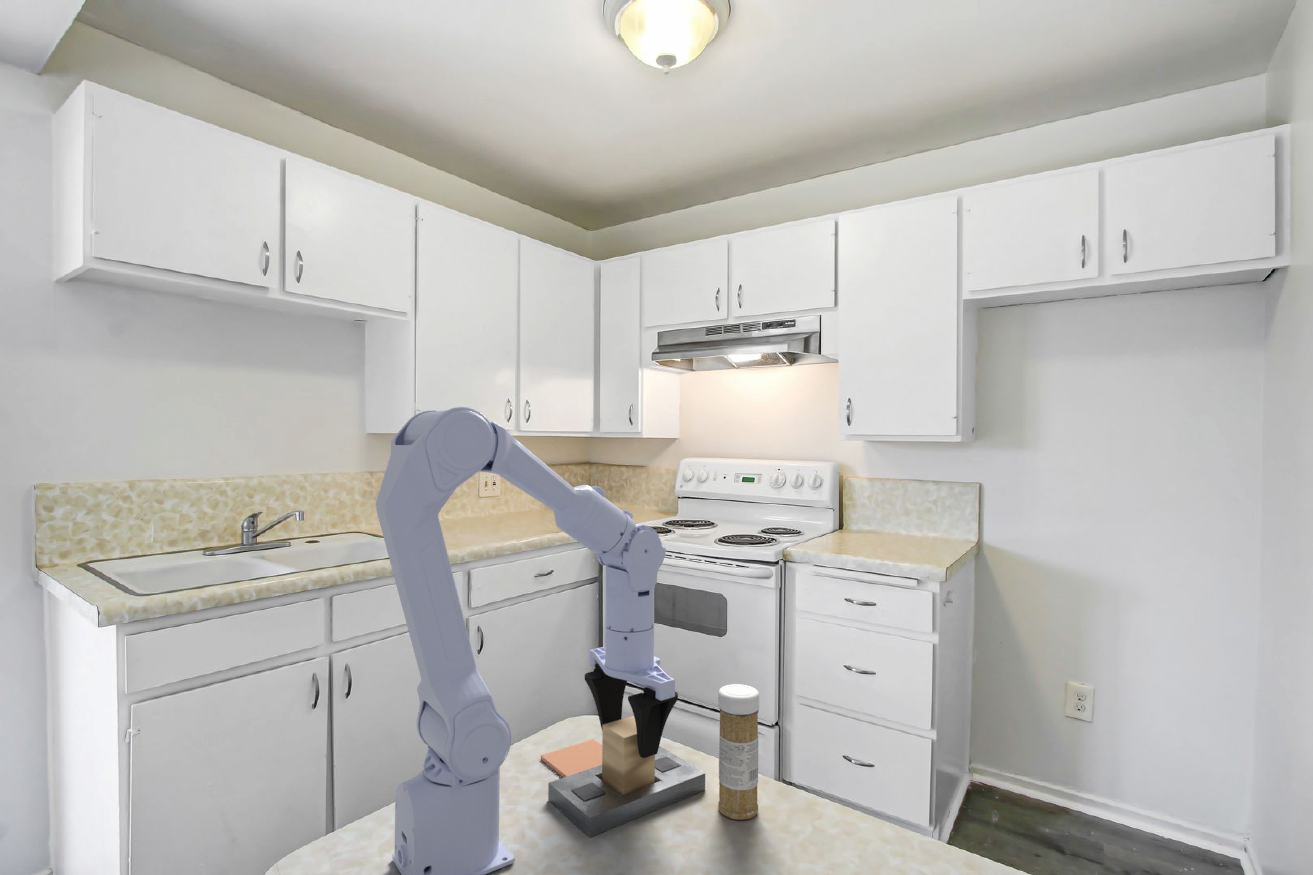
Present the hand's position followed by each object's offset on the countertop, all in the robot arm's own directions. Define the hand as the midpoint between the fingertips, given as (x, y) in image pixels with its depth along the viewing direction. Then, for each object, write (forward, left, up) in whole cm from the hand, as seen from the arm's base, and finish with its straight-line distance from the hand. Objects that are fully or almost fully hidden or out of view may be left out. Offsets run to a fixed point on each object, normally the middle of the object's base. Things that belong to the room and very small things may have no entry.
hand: (629, 742), depth 77 cm
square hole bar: (0, 0, -6) cm, 6 cm away
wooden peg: (0, 0, -6) cm, 6 cm away
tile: (0, +10, -6) cm, 12 cm away
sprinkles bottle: (+8, -10, -6) cm, 14 cm away
